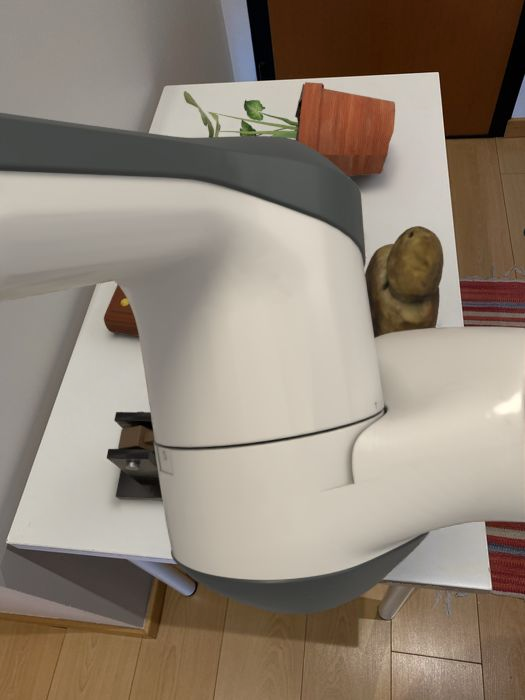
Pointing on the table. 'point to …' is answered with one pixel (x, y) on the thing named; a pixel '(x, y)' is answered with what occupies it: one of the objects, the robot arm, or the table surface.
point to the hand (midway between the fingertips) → (217, 407)
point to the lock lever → (136, 438)
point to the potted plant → (329, 126)
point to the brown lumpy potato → (405, 282)
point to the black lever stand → (136, 463)
